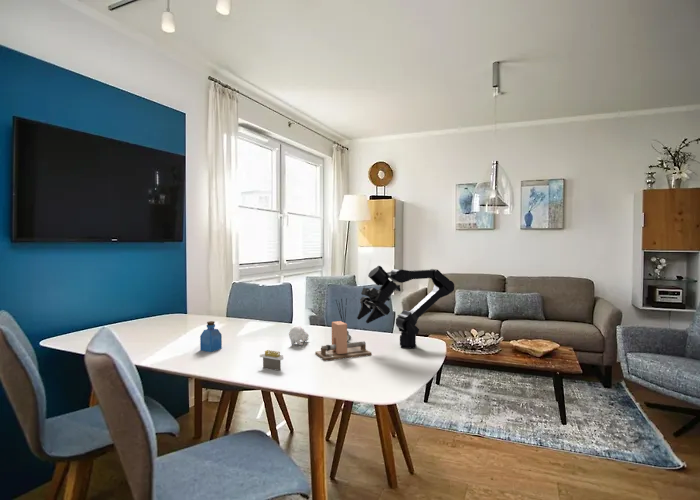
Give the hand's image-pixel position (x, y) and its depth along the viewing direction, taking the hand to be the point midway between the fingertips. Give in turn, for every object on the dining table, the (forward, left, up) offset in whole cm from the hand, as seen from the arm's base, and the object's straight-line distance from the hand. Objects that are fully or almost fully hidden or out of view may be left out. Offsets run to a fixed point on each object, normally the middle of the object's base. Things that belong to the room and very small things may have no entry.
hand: (362, 320), depth 178 cm
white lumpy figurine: (+30, -10, -13) cm, 35 cm away
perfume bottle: (+65, +7, -13) cm, 67 cm away
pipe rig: (+8, +6, -13) cm, 16 cm away
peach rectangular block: (+8, +6, -12) cm, 16 cm away
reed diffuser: (+12, -18, -13) cm, 25 cm away
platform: (+29, +28, -14) cm, 43 cm away
